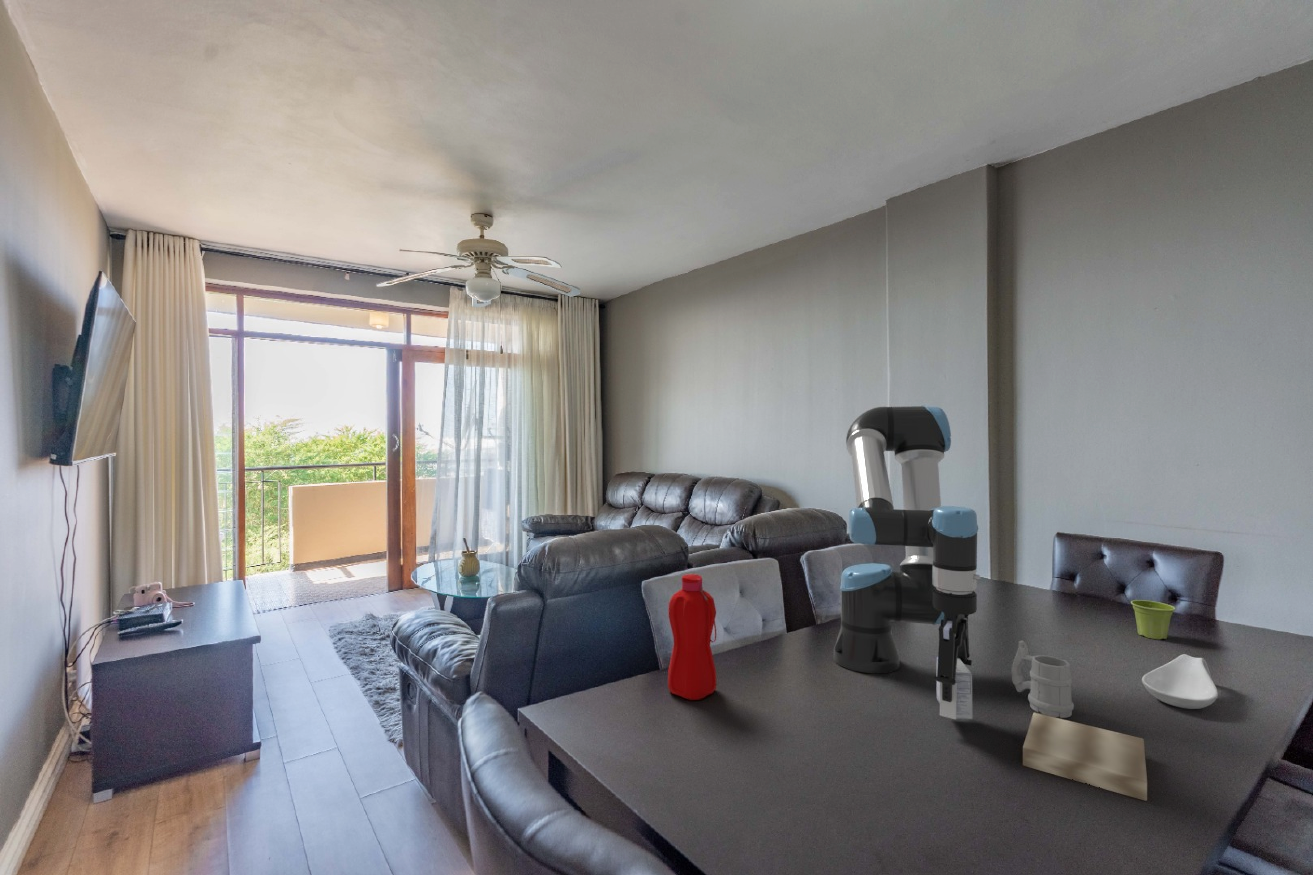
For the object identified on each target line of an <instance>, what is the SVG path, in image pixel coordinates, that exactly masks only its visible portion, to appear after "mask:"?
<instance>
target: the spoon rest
mask: <svg viewBox="0 0 1313 875" xmlns="http://www.w3.org/2000/svg"><path fill="white" fill-rule="evenodd" d="M1141 683H1142V684H1143V686H1144V688H1145V689H1146V690H1147V692H1148V693H1149V694H1151V696H1153V697H1154V698H1156V699H1157V700H1159V701H1161V702H1162V703H1164V704H1167V705H1170V706H1172V707H1176V708H1180V709H1184V710H1185V709H1186V710H1196V709H1197V710H1198V709H1199V710H1201V709H1204V708H1206V707H1209V706H1211V705H1212V704H1214V702H1216V700H1218V695H1219V693H1218V691H1219V690H1218V689H1217V687H1216V685H1215V682H1214V681H1213V679H1212V675H1211V671H1210V669H1209V665H1208V663H1207V661H1206V660H1205V658H1204V657H1193V656H1191V655H1188V654H1187V653H1186V654H1185V653H1183V654H1180V655H1178V656H1177V657H1175V658H1174V659H1172V660H1171V661H1170V662H1167V663H1165V664H1162V665H1161V666H1159V667H1157V668H1155V669H1152V670H1151V671H1149V672H1147V673H1145V674H1144V675H1143V676H1142V678H1141Z"/></svg>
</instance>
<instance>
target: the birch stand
mask: <svg viewBox="0 0 1313 875" xmlns="http://www.w3.org/2000/svg"><path fill="white" fill-rule="evenodd" d="M1032 713H1033V714H1032V716H1031V719H1030V722H1029V725H1028V730H1027V733H1026V736H1025V740H1024V742H1023V745H1022V766H1023V767H1027V768H1030V769H1033V770H1037V771H1041V772H1045V773H1048V774H1052V775H1053V776H1054V775H1055V776H1058V777H1062V778H1066V779H1067V780H1072V779H1073V780H1072V781H1076V782H1079V783H1082V784H1085V783H1087V784H1086V785H1089V784H1090V785H1089V786H1093V787H1095V788H1099V787H1100V789H1103V790H1107V791H1110V792H1114V793H1117V794H1121V795H1124V796H1127V797H1131V798H1134V799H1137V800H1141V801H1144V802H1145V801H1146V802H1148V776H1147V766H1146V765H1147V764H1146V754H1145V753H1146V751H1145V739H1144V738H1142V737H1139V736H1138V737H1137V736H1133V735H1129V734H1125V733H1122V732H1116V731H1113V730H1108V729H1104V728H1099V727H1096V726H1092V725H1087V724H1083V723H1079V722H1076V721H1071V720H1067V719H1064V718H1060V717H1051V716H1047V715H1044V714H1042V713H1039V712H1032Z"/></svg>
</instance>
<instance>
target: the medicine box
mask: <svg viewBox="0 0 1313 875" xmlns="http://www.w3.org/2000/svg"><path fill="white" fill-rule="evenodd" d="M935 662H936V666H935V667H936V668H935V669H936V670H935V671H936V673H935V674H936V675H937V670H938V656H937V657H936V660H935ZM966 666H967V665H964V663H963V662H962V661H961V659H960V658H957V666H956V677H955V681H956V682H955V683H957V718H956V719H957V720H958V719H959V720H960V719H963V720H973V674H972V672H971V671H970V670H969V668H968V666H967V667H966ZM935 691H936V700H937V701H938V703H939V704H940V682H938V681H936V690H935Z"/></svg>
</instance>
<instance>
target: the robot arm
mask: <svg viewBox="0 0 1313 875" xmlns="http://www.w3.org/2000/svg"><path fill="white" fill-rule="evenodd" d="M945 412H946V411H944V410H943V409H942V408H941V407H939V406H926V405H921V406H918V405H917V406H916V405H915V406H878V407H877V406H876V407H873V408H870V409H868V410H866V411H865V412H863V413H861V414H860V415H859V416H857V418H856V419H855V420H854V421H853V422H852V424H851V425H850V427H849V428H848V430H847V432H846V438H845V439H846V440H845V441H846V442H845V443H846V450H847V452H848V454H849V455H850V456H851V460H852V461H851V462H852V472H853V473H852V474H853V480H854V490H855V502H856V508H851V509H850V510H849V517H848V520H849V521H848V531H849V532H848V533H849V540H850V541H851V542H853V543H854V544H858V545H859V544H860V545H868V546H893V547H894V546H895V547H896V546H897V547H899V546H900V547H904V548H905V558H904V559H903V560H902V561H901V563H900V564H899V571H893V569H892V566H891V565H889V564H885V563H879V562H878V563H876V562H874V563H871V562H870V563H869V562H868V563H860V564H855V565H851V566H848V567H846V568H845V569H844V570H843V571H842V572H841V578H840V580H841V581H840V582H841V583H840V586H839V588H840V589H839V590H840V593H841V594H840V598H841V599H840V600H841V601H840V629H839V632H838V635H837V638H836V642H835V644H834V647H833V660H834V662H835V663H836V664H838V665H839V666H841V667H843V668H846V669H848V670H851V671H855V672H859V673H866V674H887V673H893V672H895V671H897V670H899V668H900V654H899V651H898V648H897V644H896V642H895V639H894V636H893V633H892V628H893V627H892V624H893V622H899V623H910V624H911V623H913V624H923V625H924V624H926V625H932V626H936V625H939V627H938V639H939V640H938V654H937V657H938V670H937V674H936V676H934V681H936V682H937V681H938V682H940V703H939V716H941V717H944V718H948V719H952V720H957V719H958V718H957V683H955V682H956V681H955V677H956V666H957V658H960V659H961V661H962V662H963V663H964V665H965V666H966V667H967V668H968V666H970V667H971V666H972V662H973V661H972V659H969V658H970V657H971V655H970V642H969V639H970V638H969V615H974V614H975V613H976V612H977V610H978V609H977V607H978V604H977V602H978V601H977V600H978V594H977V593H976V592H975V591H976V590H977V582H978V581H979V580H981V575H980V574H978V573H977V569H978V568H977V567H978V532H979V525H978V516H977V512H976V510H974V509H973V508H968V507H965V506H956V505H955V506H951V505H947V506H945V505H944V506H943V505H942V502H941V500H942V499H941V488H940V484H941V483H940V473H939V472H940V470H939V469H940V468H939V463H940V462H941V461H942V460H943V459H944V458H945V453H946V452H949V450H950V448H951V445H952V438H951V436H952V434H951V426H950V422H949V419H948V416H947V414H946V413H945ZM885 452H894V459H895V460H896V461H897V462H898V463H899V464H900V465H901V482H902V500H903V501H902V504H903V509H896V508H894V502H893V496H892V491H891V486H890V479H889V474H888V467H887V463H886V458H885Z"/></svg>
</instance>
